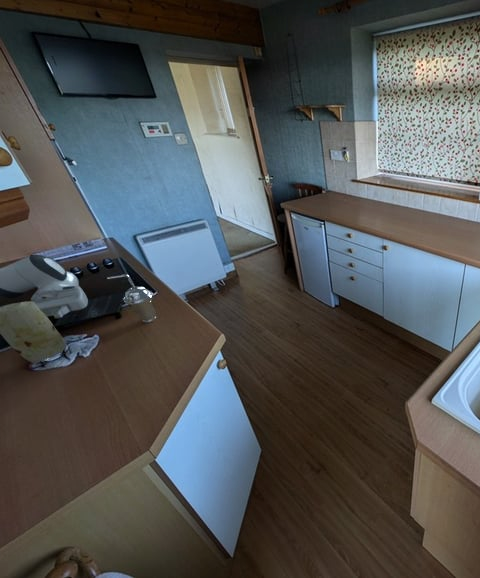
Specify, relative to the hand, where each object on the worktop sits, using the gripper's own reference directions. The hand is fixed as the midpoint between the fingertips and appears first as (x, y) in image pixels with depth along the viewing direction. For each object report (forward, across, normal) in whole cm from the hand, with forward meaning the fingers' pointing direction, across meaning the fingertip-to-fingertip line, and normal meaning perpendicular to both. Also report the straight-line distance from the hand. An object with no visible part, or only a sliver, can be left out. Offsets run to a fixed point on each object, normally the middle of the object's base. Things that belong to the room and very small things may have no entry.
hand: (36, 320), depth 91 cm
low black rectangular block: (-17, +7, +11) cm, 22 cm away
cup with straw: (-3, +25, +11) cm, 28 cm away
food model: (+6, 0, +11) cm, 13 cm away
